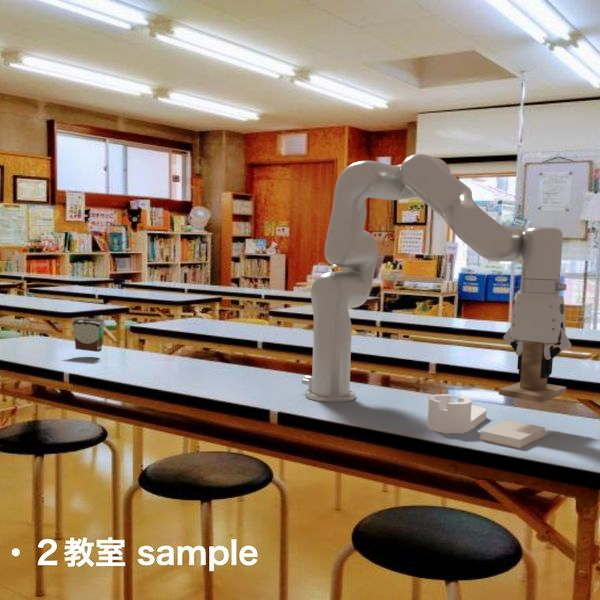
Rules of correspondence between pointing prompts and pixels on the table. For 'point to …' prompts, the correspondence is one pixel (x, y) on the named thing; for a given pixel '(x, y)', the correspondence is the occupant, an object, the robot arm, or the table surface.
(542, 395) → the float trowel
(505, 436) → the glazed tile
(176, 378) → the table surface
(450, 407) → the bracket
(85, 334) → the food container
